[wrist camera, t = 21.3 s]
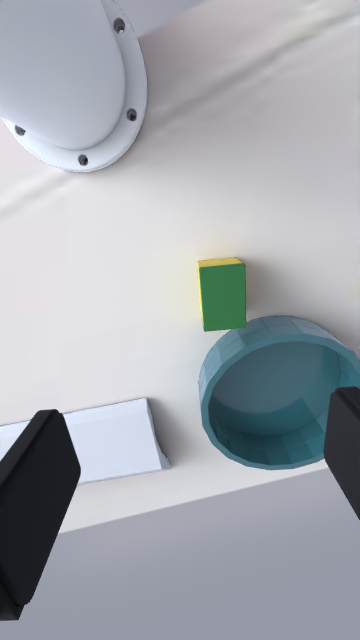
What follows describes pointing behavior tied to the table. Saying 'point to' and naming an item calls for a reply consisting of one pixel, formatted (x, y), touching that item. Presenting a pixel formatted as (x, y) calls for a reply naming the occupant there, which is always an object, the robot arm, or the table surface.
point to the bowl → (273, 391)
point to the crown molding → (107, 441)
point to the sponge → (222, 293)
